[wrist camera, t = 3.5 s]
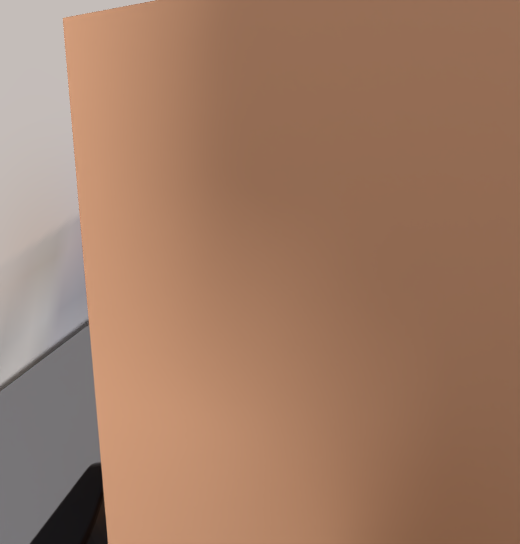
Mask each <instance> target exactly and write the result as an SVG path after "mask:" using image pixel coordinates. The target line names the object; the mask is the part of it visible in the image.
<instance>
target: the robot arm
mask: <svg viewBox="0 0 520 544" xmlns="http://www.w3.org/2000/svg"><path fill="white" fill-rule="evenodd" d="M30 544H108V537H107V526H106V514H105V502H104V491H103V479H102V468H101V462H97V463H93V464H91V465H90V466H89V467H88V468H87V469H86V470H85V472H84V473H83V474H82V475H81V477H80V478H79V479H78V481H77V482H76V483H75V485H74V486H73V487H72V489H71V490H70V491H69V492H68V494H67V495H66V496H65V498H64V499H63V500H62V502H61V503H60V504H59V506H58V507H57V508H56V509H55V511H54V512H53V513H52V515H51V516H50V517H49V519H48V520H47V521H46V523H45V524H44V525H43V527H42V528H41V529H40V530H39V532H38V533H37V534H36V536H35V537H34V538H33V540H32V541H31V542H30Z"/></svg>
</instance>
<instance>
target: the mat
mask: <svg viewBox="0 0 520 544" xmlns="http://www.w3.org/2000/svg"><path fill="white" fill-rule="evenodd" d="M97 462H101V456H100V444H99V433H98V421H97V409H96V398H95V386H94V375H93V363H92V351H91V340H90V328H89V325H88V326H86V327H85V328H84V329H82V330H81V331H80V332H78V333H77V334H76V335H74V336H73V337H72V338H70V339H69V340H68V341H66V342H65V343H64V344H62V345H61V346H60V347H58V348H57V349H56V350H54V351H53V352H52V353H50V354H49V355H48V356H46V357H45V358H44V359H43V360H41V361H40V362H39V363H37V364H36V365H35V366H33V367H32V368H31V369H29V370H28V371H27V372H25V373H24V374H23V375H21V376H20V377H19V378H17V379H16V380H15V381H13V382H12V383H11V384H9V385H8V386H7V387H5V388H4V389H3V390H1V391H0V544H30V542H31V541H32V540H33V538H34V537H35V536H36V534H37V533H38V532H39V530H40V529H41V528H42V527H43V525H44V524H45V523H46V521H47V520H48V519H49V517H50V516H51V515H52V513H53V512H54V511H55V509H56V508H57V507H58V506H59V504H60V503H61V502H62V500H63V499H64V498H65V496H66V495H67V494H68V492H69V491H70V490H71V489H72V487H73V486H74V485H75V483H76V482H77V481H78V479H79V478H80V477H81V475H82V474H83V473H84V472H85V470H86V469H87V468H88V467H89V466H90V465H91V464H93V463H97Z"/></svg>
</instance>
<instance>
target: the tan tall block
mask: <svg viewBox="0 0 520 544" xmlns="http://www.w3.org/2000/svg"><path fill="white" fill-rule="evenodd" d="M63 25H64V38H65V49H66V61H67V72H68V84H69V96H70V106H71V119H72V131H73V142H74V154H75V165H76V176H77V189H78V200H79V212H80V224H81V235H82V247H83V258H84V270H85V282H86V293H87V305H88V317H89V328H90V340H91V351H92V363H93V375H94V386H95V398H96V409H97V421H98V433H99V444H100V456H101V468H102V479H103V491H104V502H105V514H106V526H107V537H108V544H520V0H156V1H150V2H145V3H140V4H135V5H129V6H124V7H119V8H113V9H109V10H103V11H98V12H92V13H87V14H82V15H76V16H71V17H66V18H63Z"/></svg>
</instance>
